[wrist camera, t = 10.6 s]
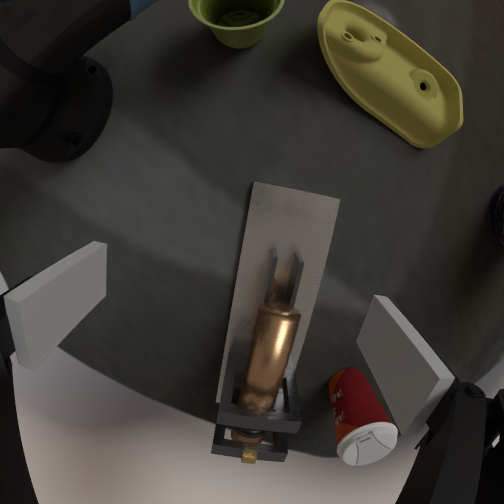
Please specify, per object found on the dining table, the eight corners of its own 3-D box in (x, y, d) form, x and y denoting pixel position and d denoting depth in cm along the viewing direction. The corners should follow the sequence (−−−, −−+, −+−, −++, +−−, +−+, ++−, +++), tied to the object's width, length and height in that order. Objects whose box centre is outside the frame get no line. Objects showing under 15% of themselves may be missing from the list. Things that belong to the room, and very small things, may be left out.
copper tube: (258, 298, 32) (257, 317, 28) (299, 305, 32) (304, 325, 28) (231, 422, 37) (228, 445, 33) (263, 426, 37) (263, 450, 33)
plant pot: (275, -1, 27) (279, -38, 19) (283, 58, 30) (289, 26, 21) (202, 6, 28) (188, -30, 19) (204, 65, 30) (188, 35, 22)
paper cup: (313, 376, 40) (330, 448, 27) (362, 353, 39) (395, 420, 25) (331, 407, 42) (348, 474, 28) (375, 386, 41) (404, 450, 27)
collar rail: (254, 181, 34) (249, 185, 21) (338, 198, 34) (382, 214, 21) (216, 398, 42) (203, 466, 29) (280, 408, 42) (284, 476, 29)
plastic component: (461, 83, 27) (463, 132, 25) (428, 106, 34) (422, 154, 32) (336, -10, 24) (313, 21, 21) (313, 27, 31) (288, 64, 29)
